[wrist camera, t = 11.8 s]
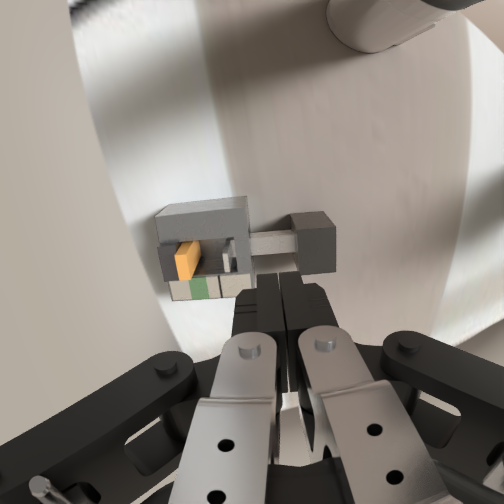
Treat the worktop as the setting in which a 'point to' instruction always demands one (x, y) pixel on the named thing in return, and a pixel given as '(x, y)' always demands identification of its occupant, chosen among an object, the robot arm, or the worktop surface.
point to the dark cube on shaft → (296, 243)
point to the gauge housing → (207, 247)
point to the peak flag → (187, 259)
